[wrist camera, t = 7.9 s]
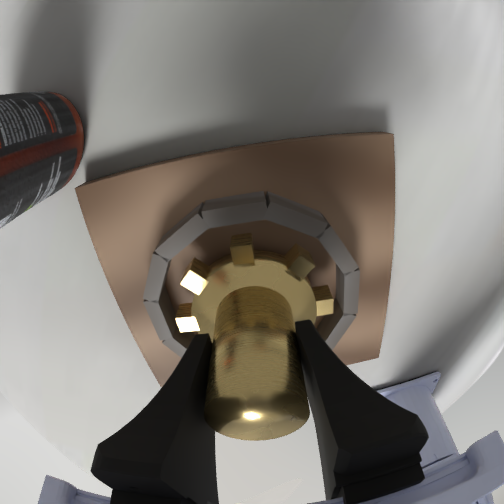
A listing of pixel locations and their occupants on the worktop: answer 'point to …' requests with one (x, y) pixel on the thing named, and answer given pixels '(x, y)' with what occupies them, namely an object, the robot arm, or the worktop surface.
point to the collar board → (250, 221)
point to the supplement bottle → (36, 149)
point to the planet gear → (253, 336)
